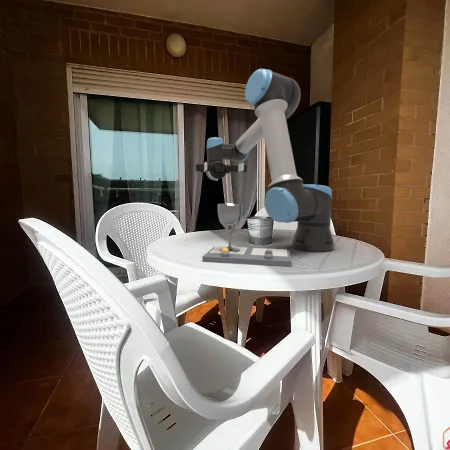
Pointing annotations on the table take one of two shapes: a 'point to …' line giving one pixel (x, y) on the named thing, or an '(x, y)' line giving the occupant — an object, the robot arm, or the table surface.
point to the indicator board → (249, 256)
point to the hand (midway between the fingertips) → (224, 166)
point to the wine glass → (230, 220)
